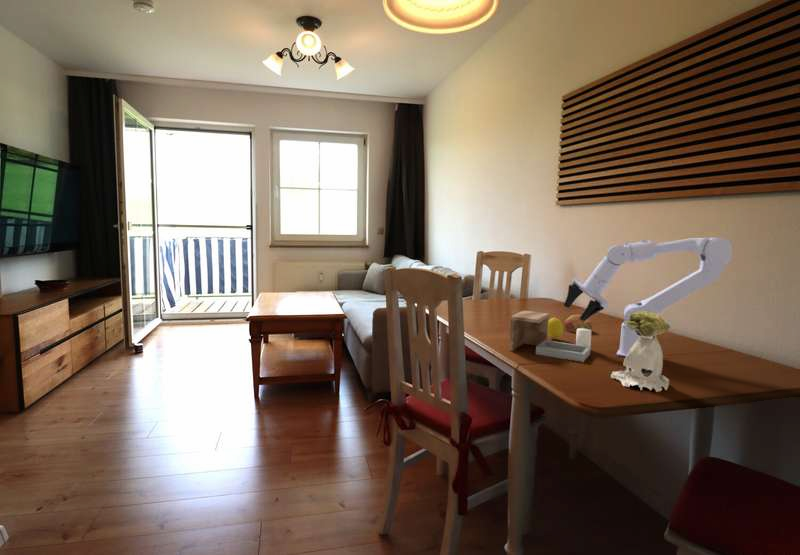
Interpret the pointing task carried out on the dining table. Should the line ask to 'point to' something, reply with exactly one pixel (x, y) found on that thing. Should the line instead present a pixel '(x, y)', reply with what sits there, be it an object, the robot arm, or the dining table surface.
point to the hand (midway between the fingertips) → (573, 313)
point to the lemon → (555, 328)
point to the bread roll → (576, 323)
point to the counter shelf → (528, 328)
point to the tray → (563, 350)
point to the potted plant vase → (644, 353)
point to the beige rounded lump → (583, 337)
